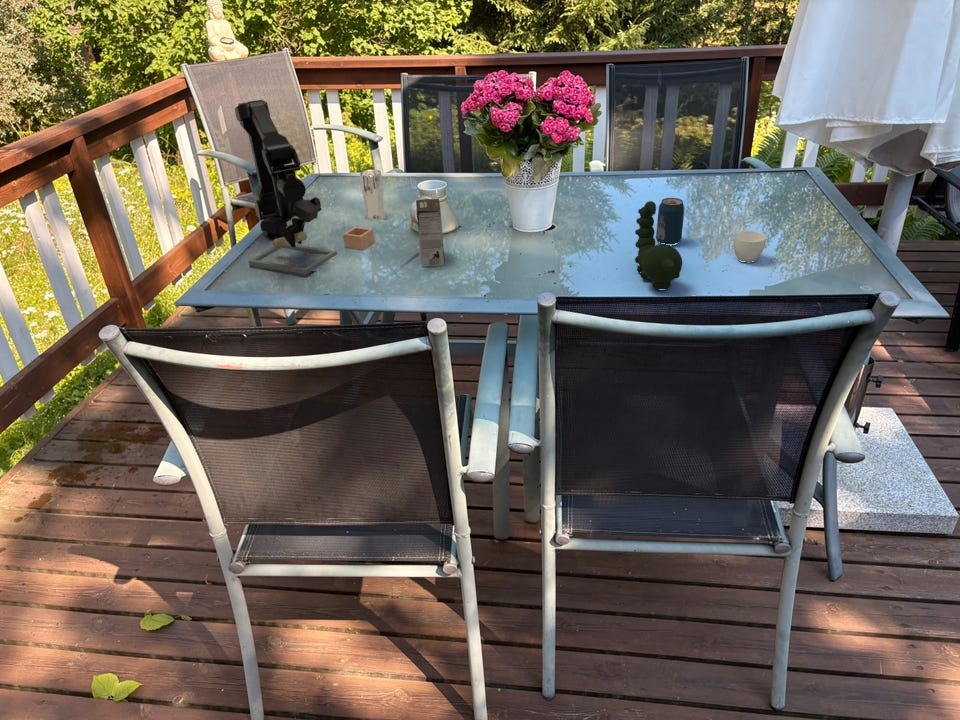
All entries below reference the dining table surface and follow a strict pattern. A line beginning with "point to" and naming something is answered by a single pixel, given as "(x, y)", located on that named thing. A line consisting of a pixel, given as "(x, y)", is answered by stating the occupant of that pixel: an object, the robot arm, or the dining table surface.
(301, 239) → the wooden dowel
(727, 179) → the dining table surface
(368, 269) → the dining table surface
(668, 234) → the soda can
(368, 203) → the beer glass
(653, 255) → the toy figurine
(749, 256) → the cup
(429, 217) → the coffee box
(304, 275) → the charcoal frame
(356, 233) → the terracotta box
